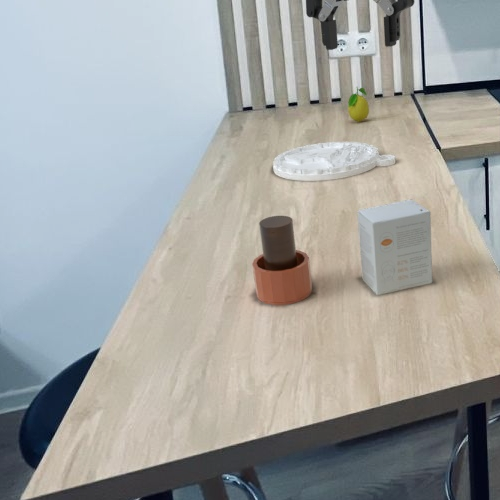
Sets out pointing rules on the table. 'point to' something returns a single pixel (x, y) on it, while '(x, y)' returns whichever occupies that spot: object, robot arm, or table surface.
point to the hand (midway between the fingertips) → (360, 47)
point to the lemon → (358, 106)
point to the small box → (395, 246)
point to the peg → (278, 243)
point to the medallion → (329, 161)
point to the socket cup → (283, 281)
